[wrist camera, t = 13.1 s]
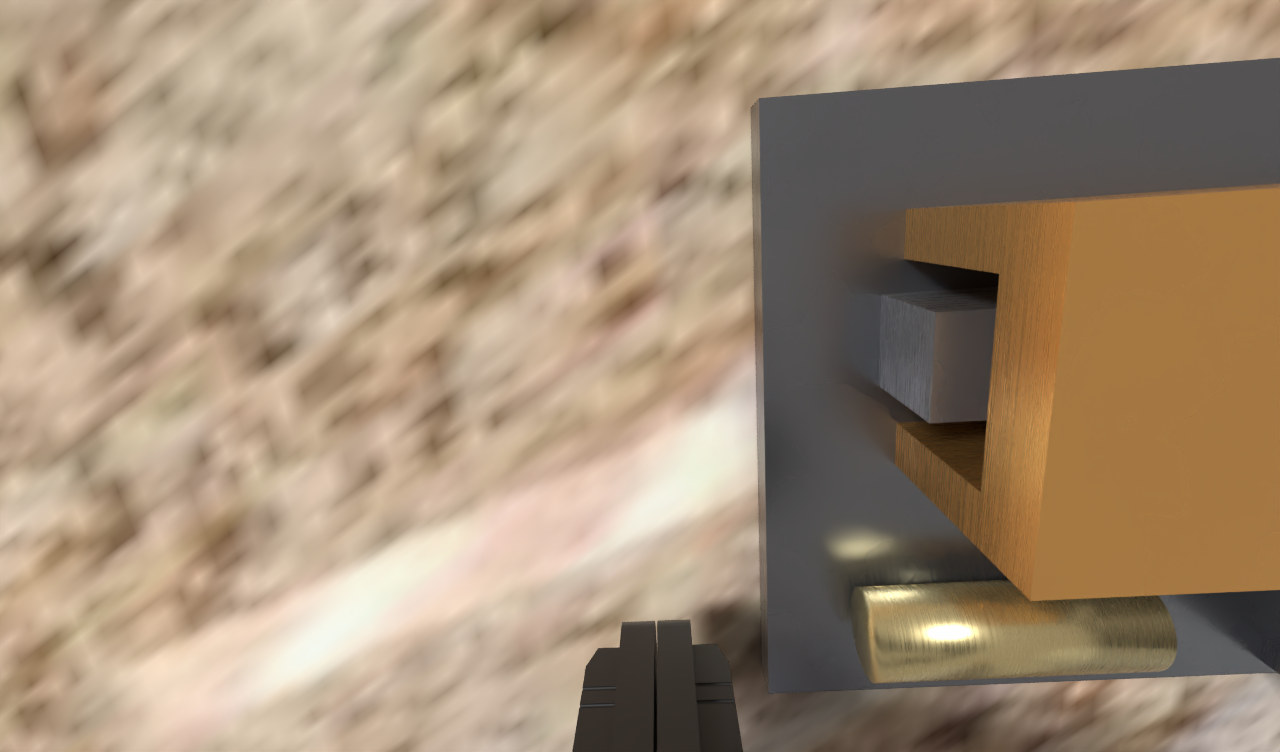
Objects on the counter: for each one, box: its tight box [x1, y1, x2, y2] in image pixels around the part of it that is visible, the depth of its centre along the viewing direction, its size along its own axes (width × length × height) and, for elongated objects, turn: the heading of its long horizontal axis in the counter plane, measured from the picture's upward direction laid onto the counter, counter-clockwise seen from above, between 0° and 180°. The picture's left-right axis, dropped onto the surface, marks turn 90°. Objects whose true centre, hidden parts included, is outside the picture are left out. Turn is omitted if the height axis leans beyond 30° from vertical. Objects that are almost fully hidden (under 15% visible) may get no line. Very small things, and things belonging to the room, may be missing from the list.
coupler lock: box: [895, 183, 1280, 601], centre depth 10 cm, size 6×8×5 cm
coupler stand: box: [751, 58, 1280, 693], centre depth 11 cm, size 14×16×7 cm
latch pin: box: [851, 580, 1177, 683], centre depth 13 cm, size 2×6×2 cm, turn 94°
